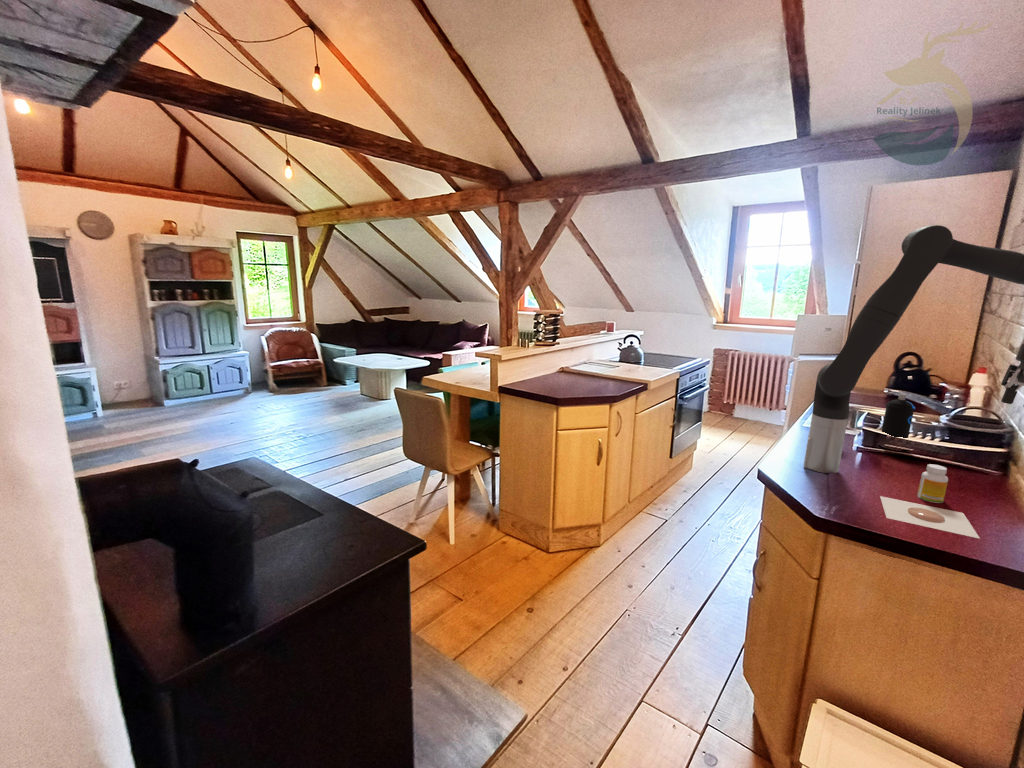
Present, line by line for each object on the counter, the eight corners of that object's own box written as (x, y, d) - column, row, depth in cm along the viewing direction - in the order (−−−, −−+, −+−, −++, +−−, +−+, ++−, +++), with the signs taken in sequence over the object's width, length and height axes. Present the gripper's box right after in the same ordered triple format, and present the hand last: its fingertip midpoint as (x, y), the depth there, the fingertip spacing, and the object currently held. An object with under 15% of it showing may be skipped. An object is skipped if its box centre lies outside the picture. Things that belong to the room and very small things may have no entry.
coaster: (909, 517, 118) (910, 515, 118) (905, 506, 124) (905, 505, 124) (947, 525, 114) (947, 523, 114) (940, 513, 120) (941, 512, 120)
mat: (886, 520, 117) (886, 517, 117) (879, 498, 130) (879, 496, 130) (979, 541, 108) (980, 538, 108) (962, 515, 121) (963, 513, 121)
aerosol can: (881, 449, 170) (892, 395, 166) (874, 442, 177) (884, 390, 173) (910, 453, 167) (922, 397, 163) (901, 446, 174) (912, 393, 170)
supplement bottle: (947, 506, 126) (956, 471, 124) (924, 503, 127) (932, 469, 125) (934, 497, 131) (942, 464, 129) (912, 495, 132) (919, 462, 130)
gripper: (1006, 341, 130) (983, 398, 133) (1045, 343, 116) (1018, 406, 119) (1040, 347, 128) (1015, 405, 131) (1084, 350, 114) (1055, 414, 117)
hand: (1017, 405), depth 125 cm, fingers open, 8 cm apart
